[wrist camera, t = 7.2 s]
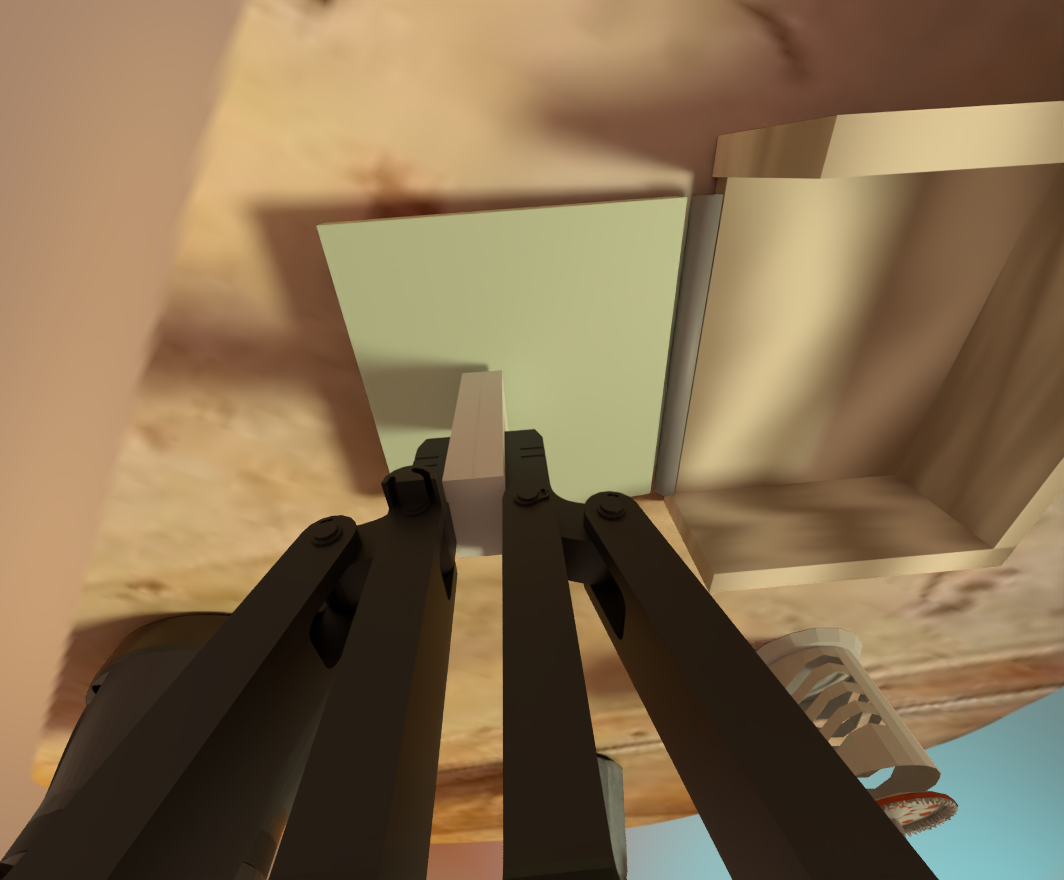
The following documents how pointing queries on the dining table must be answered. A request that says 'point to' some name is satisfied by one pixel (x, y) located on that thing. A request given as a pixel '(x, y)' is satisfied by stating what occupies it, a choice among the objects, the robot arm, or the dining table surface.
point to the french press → (824, 692)
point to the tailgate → (534, 327)
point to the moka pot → (615, 811)
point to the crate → (878, 348)
